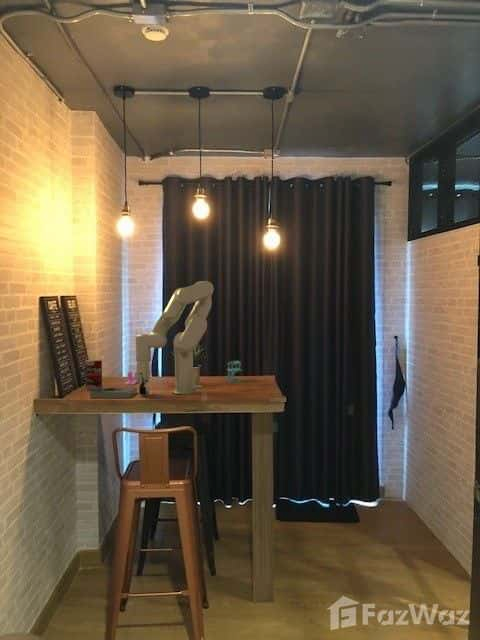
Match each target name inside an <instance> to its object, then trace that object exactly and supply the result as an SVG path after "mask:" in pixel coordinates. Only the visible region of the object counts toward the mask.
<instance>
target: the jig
mask: <svg viewBox="0 0 480 640" xmlns="http://www.w3.org/2000/svg"><path fill="white" fill-rule="evenodd" d="M137 393H138V387H137V386H102V387H99V388H97V389H93V390H91V391H89V399H130V398H132V397H133V396H135V395H136V394H137Z"/></svg>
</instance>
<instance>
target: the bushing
mask: <svg viewBox="0 0 480 640" xmlns="http://www.w3.org/2000/svg"><path fill="white" fill-rule="evenodd" d="M149 381H150V380H149ZM149 381H145V387H146V395H140V391H139V390H138V391H139V392H138V393H139V397H141V396H146V397H149V396H150V382H149ZM143 384H144V382H143Z"/></svg>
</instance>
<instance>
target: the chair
mask: <svg viewBox="0 0 480 640" xmlns="http://www.w3.org/2000/svg"><path fill="white" fill-rule="evenodd" d="M230 365H231V367H230ZM241 365H242V362H241V361H239V360H231V361H230V362H228V363H227V366H228V368H226V371H228V372H227V379H226V381H227V382H228V383H234V382H235V383H238V382H239V383H240V382H242V383H243V382H244V379H242V378H240V377H235V378H233V377H234V376H235V374H236V373H238V372H242V370H243V369H242V368H241ZM234 366H235V367H234ZM236 379H238V380H236Z"/></svg>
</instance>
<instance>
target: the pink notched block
mask: <svg viewBox="0 0 480 640" xmlns="http://www.w3.org/2000/svg"><path fill="white" fill-rule="evenodd" d="M132 372H133V371H132V370H128V371H127V381H126V382H124V387H134V386H135V385H136V383H137V384H138V383H139V381H137V380H136V370H135V371H134V379H133V373H132Z"/></svg>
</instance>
